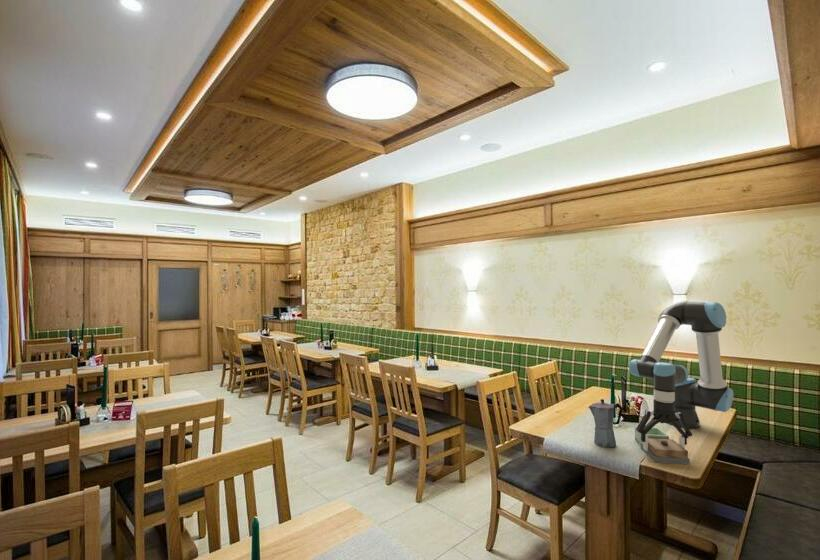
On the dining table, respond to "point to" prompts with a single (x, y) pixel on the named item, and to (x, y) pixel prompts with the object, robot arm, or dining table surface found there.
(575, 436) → the dining table surface
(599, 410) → the moka pot
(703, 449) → the dining table surface
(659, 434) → the green open box
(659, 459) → the mat
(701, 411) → the dining table surface
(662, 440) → the lid
